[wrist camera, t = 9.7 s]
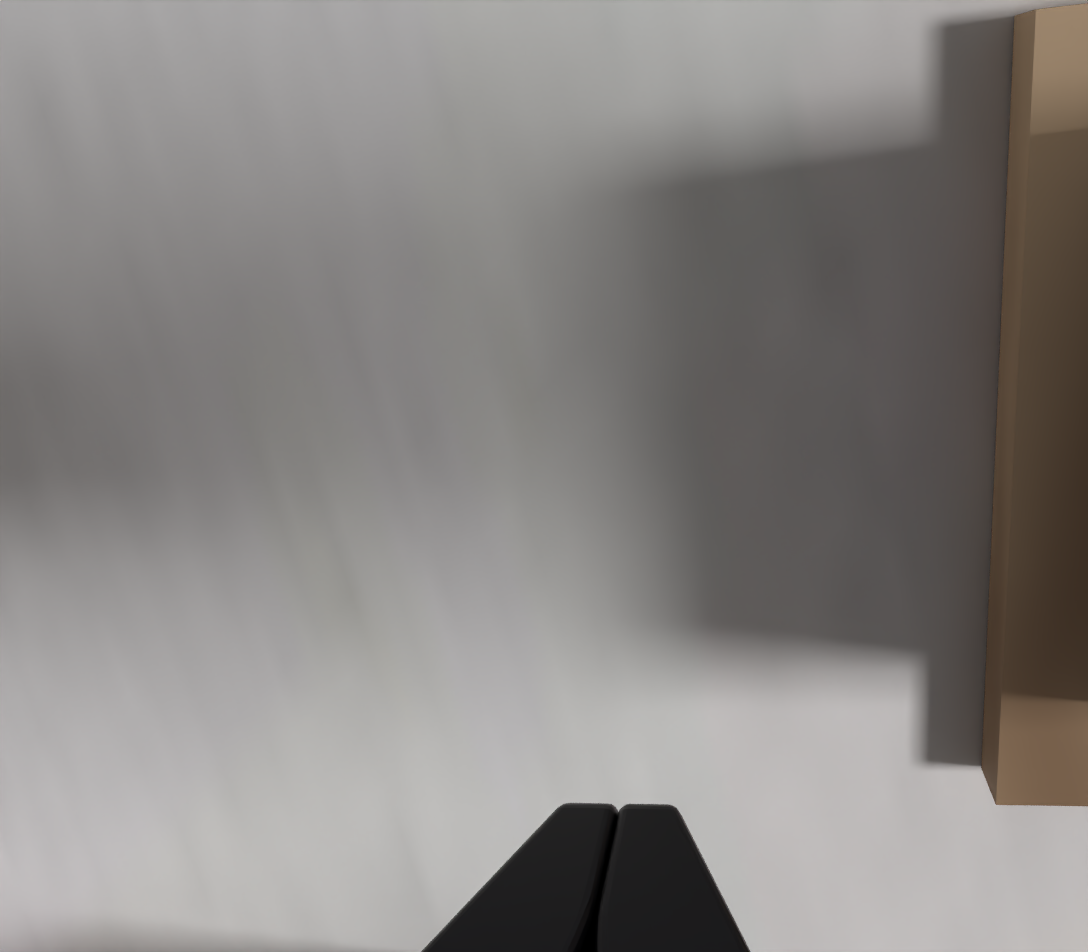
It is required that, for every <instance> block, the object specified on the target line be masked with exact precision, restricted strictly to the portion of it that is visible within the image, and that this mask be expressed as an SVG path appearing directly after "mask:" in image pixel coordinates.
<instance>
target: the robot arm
mask: <svg viewBox="0 0 1088 952" xmlns="http://www.w3.org/2000/svg"><path fill="white" fill-rule="evenodd" d="M421 952H750V950H749V948H748V946H747V944H746V942H745V940H744V938H743V936H742V934H741V932H740V930H739V928H738V926H737V924H736V922H735V920H734V918H733V916H732V914H731V912H730V910H729V908H728V906H727V904H726V902H725V900H724V898H723V896H722V895H721V893H720V891H719V889H718V887H717V885H716V883H715V881H714V879H713V877H712V875H711V873H710V871H709V869H708V867H707V865H706V863H705V861H704V859H703V857H702V855H701V853H700V851H699V849H698V847H697V845H696V843H695V841H694V839H693V837H692V835H691V833H690V831H689V829H688V827H687V825H686V823H685V821H684V819H683V817H682V816H681V814H680V812H679V811H678V810H677V808H676V807H674V806H672V805H666V804H627V805H625V806H623V807H622V808H621V809H620V811H619V812H618V810H617V809H616V807H615V806H613V805H612V804H601V803H566V804H563V805H561V806H560V807H558V808H557V809H556V810H555V811H554V812H553V813H552V814H551V815H550V816H549V817H548V818H547V820H546V821H545V822H544V823H543V824H542V825H541V826H540V827H539V828H538V829H537V830H536V831H535V832H534V833H533V834H532V835H531V836H530V837H529V839H528V840H527V841H526V842H525V843H524V844H523V845H522V846H521V847H520V848H519V849H518V850H517V851H516V852H515V853H514V854H513V855H512V856H511V858H510V859H509V860H508V861H507V862H506V863H505V864H504V865H503V866H502V867H501V868H500V869H499V870H498V871H497V872H496V873H495V874H494V875H493V877H492V878H491V879H490V880H489V881H488V882H487V883H486V884H485V885H484V886H483V887H482V888H481V889H480V890H479V891H478V892H477V893H476V894H475V896H474V897H473V898H472V899H471V900H470V901H469V902H468V903H467V904H466V905H465V906H464V907H463V908H462V909H461V910H460V911H459V912H458V913H457V915H456V916H455V917H454V918H453V919H452V920H451V921H450V922H449V923H448V924H447V925H446V926H445V927H444V928H443V929H442V930H441V931H440V932H439V934H438V935H437V936H436V937H435V938H434V939H433V940H432V941H431V942H430V943H429V944H428V945H427V946H426V947H425V948H424V949H423V950H422V951H421Z"/></svg>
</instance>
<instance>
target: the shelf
mask: <svg viewBox="0 0 1088 952" xmlns="http://www.w3.org/2000/svg"><path fill="white" fill-rule="evenodd" d="M981 768H982V771H983V773H984V776H985V778H986V781H987V783H988V786H989V788H990V791H991V793H992V796H993V799H994V801H995V804H996V805H1047V806H1088V3H1086V4H1078V5H1069V6H1061V7H1053V8H1044V9H1036V10H1033V11H1029V12H1026V13H1023V14H1019V15H1016V16H1014V39H1013V62H1012V84H1011V107H1010V130H1009V152H1008V175H1007V197H1006V220H1005V243H1004V265H1003V288H1002V311H1001V333H1000V356H999V379H998V401H997V424H996V447H995V469H994V492H993V515H992V537H991V560H990V583H989V605H988V628H987V650H986V673H985V696H984V718H983V741H982V764H981Z"/></svg>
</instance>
